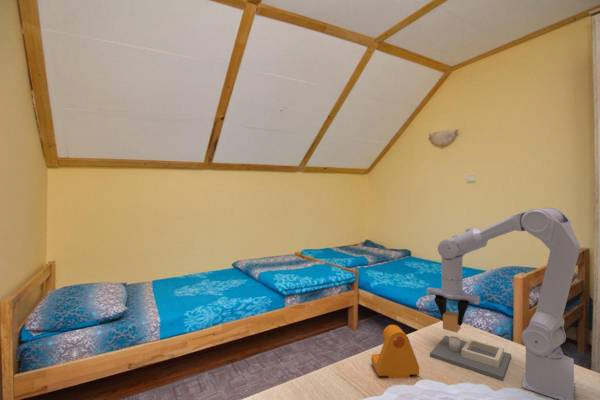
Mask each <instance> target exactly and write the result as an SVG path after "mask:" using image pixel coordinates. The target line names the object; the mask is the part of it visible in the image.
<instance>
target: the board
mask: <svg viewBox="0 0 600 400" xmlns="http://www.w3.org/2000/svg"><path fill="white" fill-rule="evenodd" d="M429 357H430V358H433V359H436V360H439V361H442V362H446V363H447V364H451V365H455V366H458V367H460V368H463V369H466V370H469V371H471V372H476V373H478V374H481V375H484V376H487V377H490V378H494V379H497V380H499V381H504V378H505V375H506V372H507V370H508V367H509V364H510V362H511V359H512V354H511V353H509V352H506V351H505V348H504V347H501V346H498V345H494V344H490V343H488V342H487V343H486V342H484V341H480V340H476V339H472V338H468V339H467V341H466V340H463V339H461V338H459V337H458V336H452V335H451V336H448V335H444V337H442V339H441V340H440V341H439V342H438V343H437V345H436V346H435V347H434V348H433V349H432V350H431V351H430V352H429Z"/></svg>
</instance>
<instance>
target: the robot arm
mask: <svg viewBox="0 0 600 400" xmlns="http://www.w3.org/2000/svg"><path fill="white" fill-rule="evenodd" d="M515 231H516V232H527V233H529V234H530V235H531V236H533V237H535V238H537V239H538V240H540V241H541V242H542V243H543V244H544V245H545V246H546V247H547V248H548V250H549V255H548V260H547V263H546V267H545V272H544V276H543V281H542V284H541V288H540V292H539V297H538V301H537V305H536V309H535V312H534V313H533V315H532V316H531V319H530V321H529V324H528V327H526V328H525V329H523V331H522V333H521V342H522V343H523V345H524V346H525V372H524V375H523V378H522V382H521V387H522V388H523V389H526V390H529V391H531V392H535V393H538V394H540V395H544V396H547V397H550V398H553V399H556V400H558V399H559V400H575V399H574V395H575V392H576V391H577V389H576V383H575V381H574V380H575V378H574V377H575V375H574V374H575V370H574V369H575V367H574V366H575V362H574V361H575V359H574V358H572V357H569V356H566V355H565V354H564V353H563V349H562V347H561V345H563V344H564V343H565V342H566V340H567V335H566V332H565V328H564V325H565V322H566V321H565V319H564V313H565V308H566V305H567V301H568V297H569V295H570V294H569V293H570V290H571V285H572V282H573V279H574V278H573V277H574V273H575V269H576V266H577V263H578V258H579V255H580V250H581V245H580V242H579V240H578V238H577V235H576V233H575V231H574V229H573V227H572V225H571V219H570V218H569V217H568V216H567V215H565V214H564V213H563V212H562V211H561V210H560V209H557V208H555V207H544V208H531V209H528V210H527V211H522V212H520V213H516V214H512V215H510V216H509V217H506V218H504V219H501V220H500V221H498V222H496V223H493V224H491V225H490V226H487V227H486V228H483V229H481V228H477V227H474V228H472V227H468V228H466V229H465V232H463V233H461V234H458V235H457V234H455V235H452V236H451V239H442V241H440V242H439V243H438V245H437V252H438V254H439V255H440V257H441V288H437V287H427V288H426V295H428V296H435V297H434V303H435V304H436V306H437V308H438V310H439V313H440V318H441V321H442V322H443V314H444V313H445V312H446V311H447V303H448V302H447V301H448V299H450V300H457V301H458V302H457V304H456V305H457V311H458V312H457V313H458V325H461V326H462V324H463V322H464V318H465V314H466V311H467V310H468V307H469V305H470V303H472V304H474V305H480V295H474V294H470V293H467V292H463V259H464V258H463V257H464V256H465V255H466V254H469V253H471V252H474V251H477V250H480V249H482V248H485V247H486V246H487V244H488V242H489V240H491V239H495V238H498V237H500V236H503V235H506V234H508V233H511V232H515Z"/></svg>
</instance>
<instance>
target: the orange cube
mask: <svg viewBox="0 0 600 400" xmlns="http://www.w3.org/2000/svg"><path fill="white" fill-rule="evenodd" d="M461 327H462V325H458V312H455V311H449V310H446V312H445V313H444V314H443V321H442V330H446V331H450V332H453V333H457V334H458V332H459V331H460V330H461Z"/></svg>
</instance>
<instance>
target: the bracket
mask: <svg viewBox="0 0 600 400" xmlns="http://www.w3.org/2000/svg"><path fill="white" fill-rule="evenodd" d="M382 337H383V341H384V342H383V344H382V347H381V350H380V353H374V354H371V364H372V366H373V368H374V370H375V372H376V374H377V375H378V376H379V377H380V376H386V377H387V378H388V379H405V378H410V375H420V365H419V363H418V360H417V357H416V355H415V352H414V349H413V346H412V344H411V342H410V339H409V337H408V336H407V334H406V333H405V331H403V330H402V329H401V327H399V326H398V325H396V324H389V325H387V326H386V327H385V328H384V330H383V332H382Z"/></svg>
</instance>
